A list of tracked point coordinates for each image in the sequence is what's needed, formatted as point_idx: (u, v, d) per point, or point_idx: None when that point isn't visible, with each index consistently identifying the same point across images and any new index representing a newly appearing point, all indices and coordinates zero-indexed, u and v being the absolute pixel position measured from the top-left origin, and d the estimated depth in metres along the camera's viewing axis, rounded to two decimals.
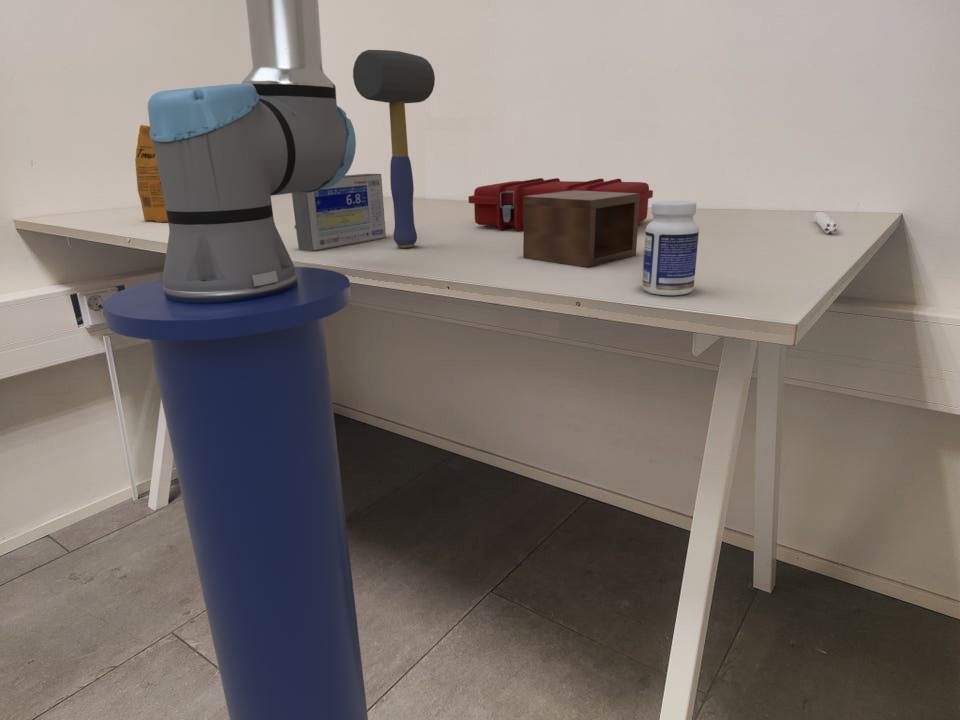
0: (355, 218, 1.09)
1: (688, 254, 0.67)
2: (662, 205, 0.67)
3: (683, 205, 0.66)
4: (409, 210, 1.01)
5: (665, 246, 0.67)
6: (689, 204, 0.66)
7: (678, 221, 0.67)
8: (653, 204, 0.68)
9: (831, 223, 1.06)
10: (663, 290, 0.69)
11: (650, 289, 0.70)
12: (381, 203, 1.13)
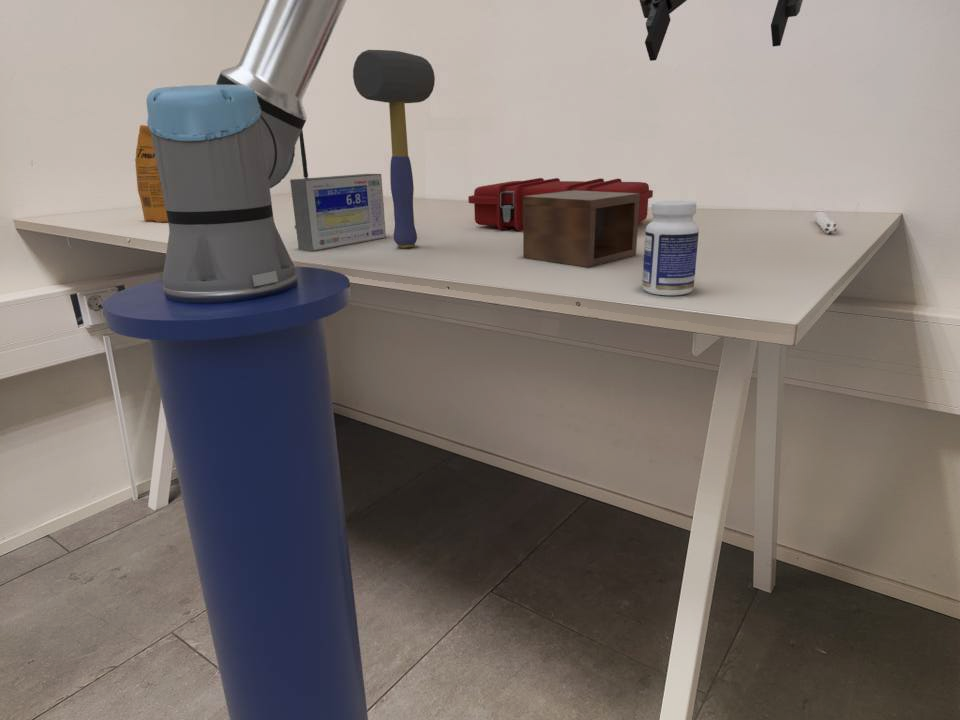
0: (355, 218, 1.09)
1: (688, 254, 0.67)
2: (662, 205, 0.67)
3: (683, 205, 0.66)
4: (409, 210, 1.01)
5: (665, 246, 0.67)
6: (689, 204, 0.66)
7: (678, 221, 0.67)
8: (653, 204, 0.68)
9: (831, 223, 1.06)
10: (663, 290, 0.69)
11: (650, 289, 0.70)
12: (381, 203, 1.13)
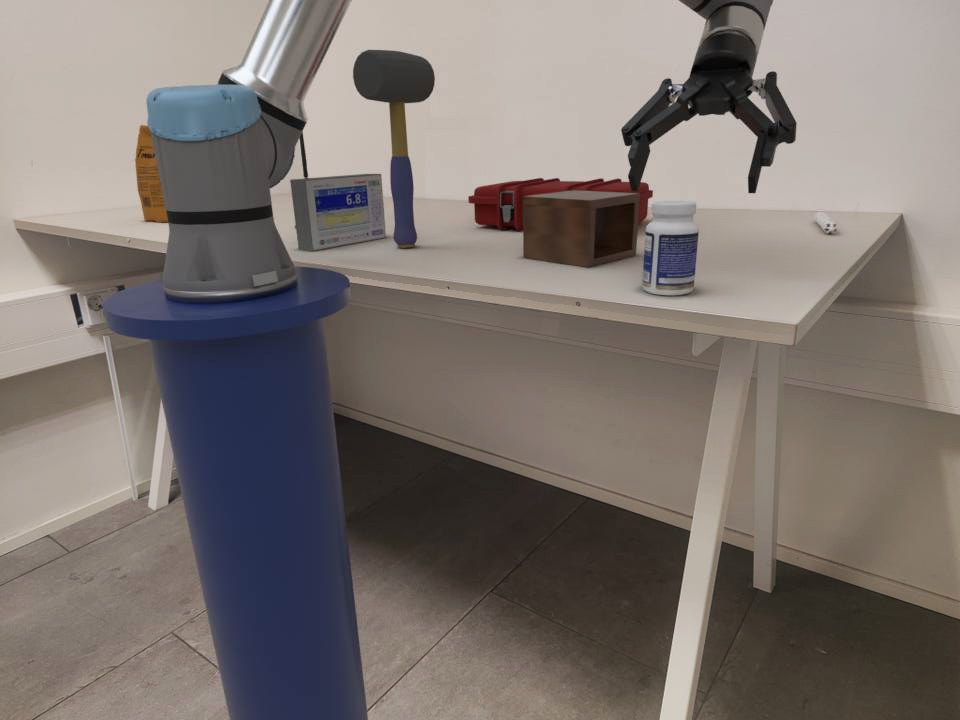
0: (355, 218, 1.09)
1: (688, 254, 0.67)
2: (662, 205, 0.67)
3: (683, 205, 0.66)
4: (409, 210, 1.01)
5: (665, 246, 0.67)
6: (689, 204, 0.66)
7: (678, 221, 0.67)
8: (653, 204, 0.68)
9: (831, 223, 1.06)
10: (663, 290, 0.69)
11: (650, 289, 0.70)
12: (381, 203, 1.13)
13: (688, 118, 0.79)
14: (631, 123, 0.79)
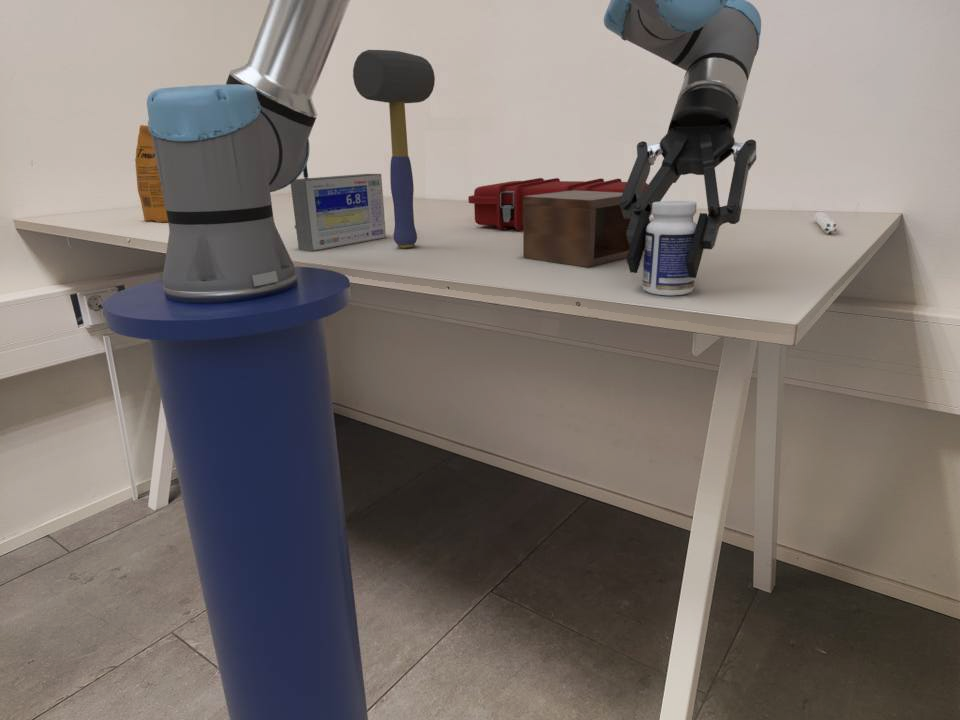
0: (355, 218, 1.09)
1: (688, 254, 0.67)
2: (662, 205, 0.66)
3: (683, 205, 0.66)
4: (409, 210, 1.01)
5: (665, 246, 0.67)
6: (689, 204, 0.66)
7: (678, 221, 0.67)
8: (653, 204, 0.68)
9: (831, 223, 1.06)
10: (663, 290, 0.69)
11: (650, 289, 0.70)
12: (381, 203, 1.13)
13: (676, 179, 0.74)
14: (627, 194, 0.72)
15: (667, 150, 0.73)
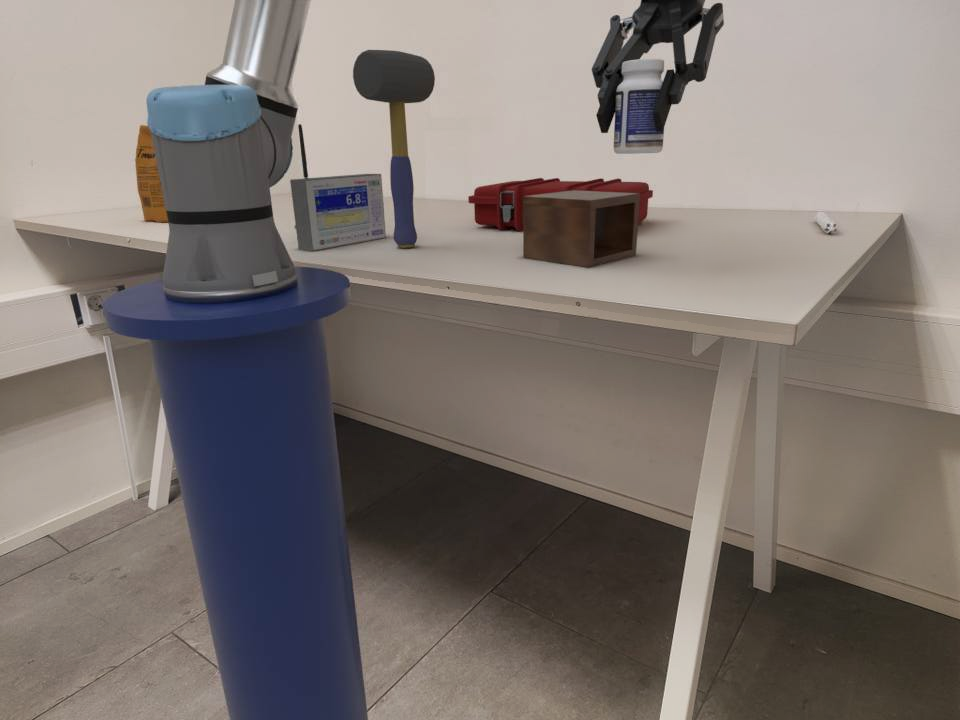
0: (355, 218, 1.09)
1: None
2: (631, 61, 0.69)
3: (650, 60, 0.68)
4: (409, 210, 1.01)
5: (633, 101, 0.70)
6: (656, 59, 0.69)
7: (646, 77, 0.69)
8: (623, 63, 0.70)
9: (831, 223, 1.06)
10: (632, 147, 0.71)
11: (620, 149, 0.72)
12: (381, 203, 1.13)
13: (647, 50, 0.76)
14: (599, 61, 0.74)
15: (639, 20, 0.75)
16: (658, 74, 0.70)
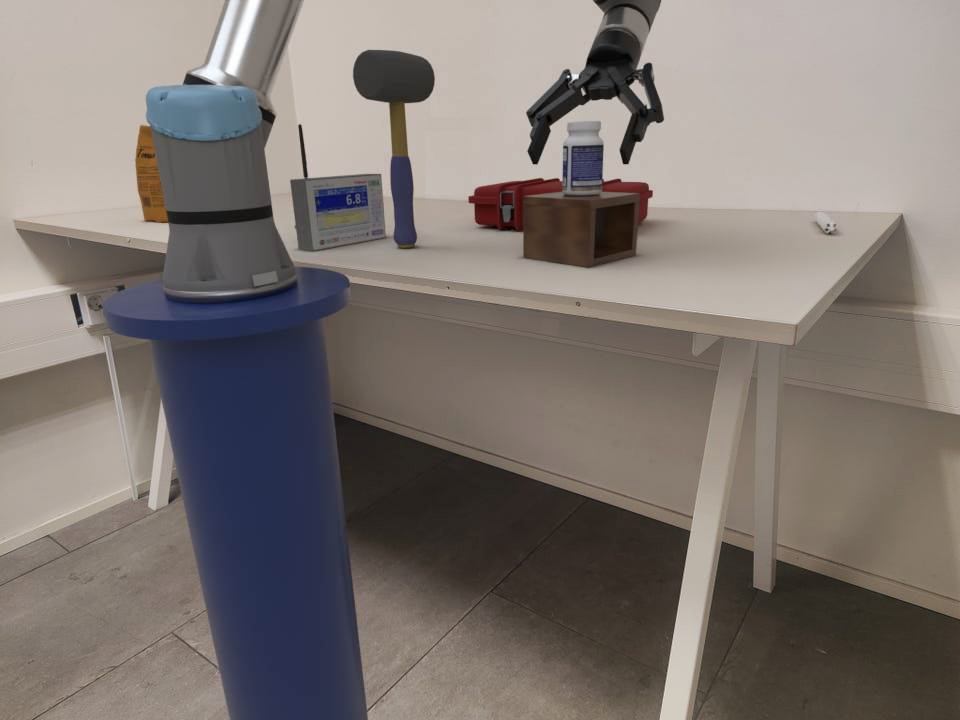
0: (355, 218, 1.09)
1: (594, 162, 0.86)
2: (573, 122, 0.85)
3: (589, 122, 0.85)
4: (409, 210, 1.01)
5: (576, 155, 0.86)
6: (593, 121, 0.85)
7: (585, 135, 0.85)
8: (567, 123, 0.87)
9: (831, 223, 1.06)
10: (576, 191, 0.87)
11: (567, 192, 0.88)
12: (381, 203, 1.13)
13: (583, 103, 0.93)
14: (534, 107, 0.93)
15: None
16: (596, 132, 0.86)
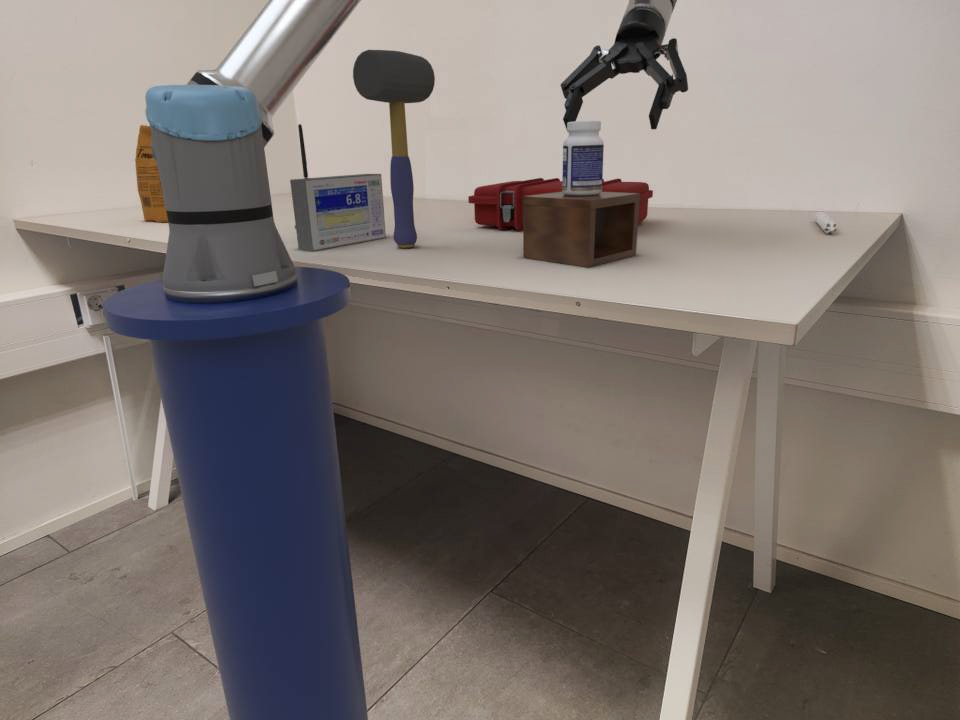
0: (355, 218, 1.09)
1: (594, 162, 0.86)
2: (573, 122, 0.85)
3: (589, 122, 0.85)
4: (409, 210, 1.01)
5: (576, 155, 0.86)
6: (593, 121, 0.85)
7: (585, 135, 0.85)
8: (567, 123, 0.87)
9: (831, 223, 1.06)
10: (576, 191, 0.87)
11: (567, 192, 0.88)
12: (381, 203, 1.13)
13: (613, 76, 1.02)
14: (568, 80, 1.01)
15: None
16: (596, 132, 0.86)
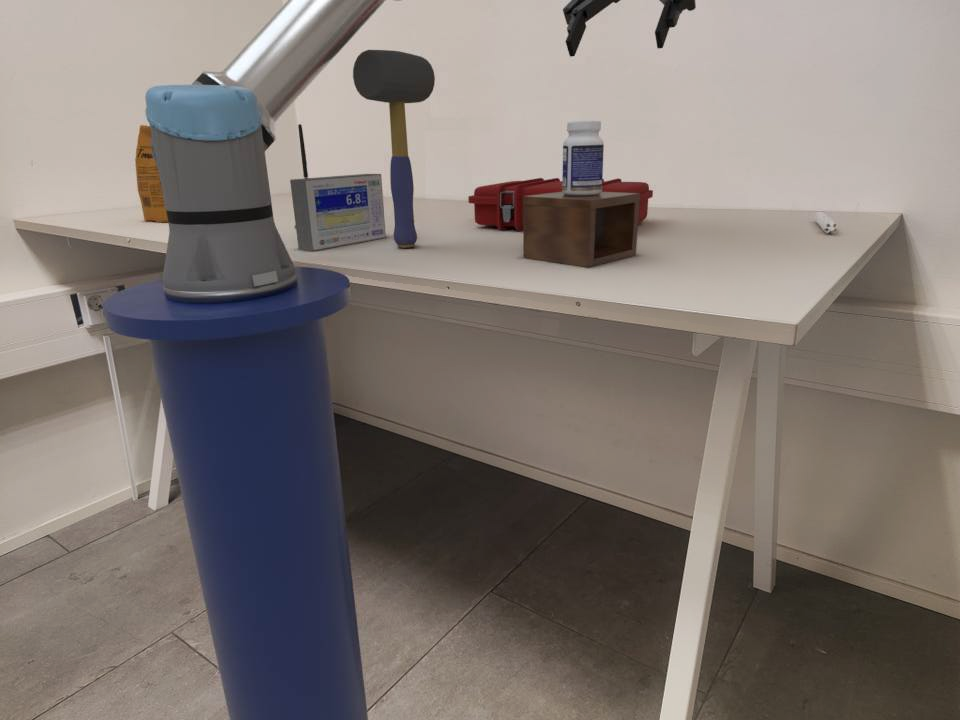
0: (355, 218, 1.09)
1: (594, 162, 0.86)
2: (573, 122, 0.85)
3: (588, 122, 0.85)
4: (409, 210, 1.01)
5: (576, 155, 0.86)
6: (593, 121, 0.85)
7: (585, 135, 0.85)
8: (567, 123, 0.87)
9: (831, 223, 1.06)
10: (576, 191, 0.87)
11: (567, 192, 0.88)
12: (381, 203, 1.13)
13: (617, 0, 0.98)
14: (571, 4, 0.98)
15: None
16: (596, 132, 0.86)
